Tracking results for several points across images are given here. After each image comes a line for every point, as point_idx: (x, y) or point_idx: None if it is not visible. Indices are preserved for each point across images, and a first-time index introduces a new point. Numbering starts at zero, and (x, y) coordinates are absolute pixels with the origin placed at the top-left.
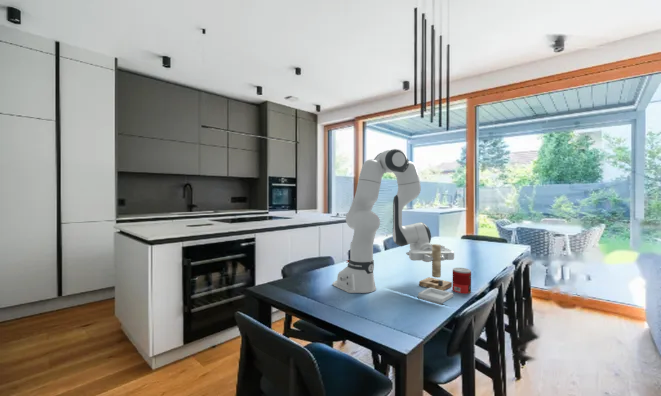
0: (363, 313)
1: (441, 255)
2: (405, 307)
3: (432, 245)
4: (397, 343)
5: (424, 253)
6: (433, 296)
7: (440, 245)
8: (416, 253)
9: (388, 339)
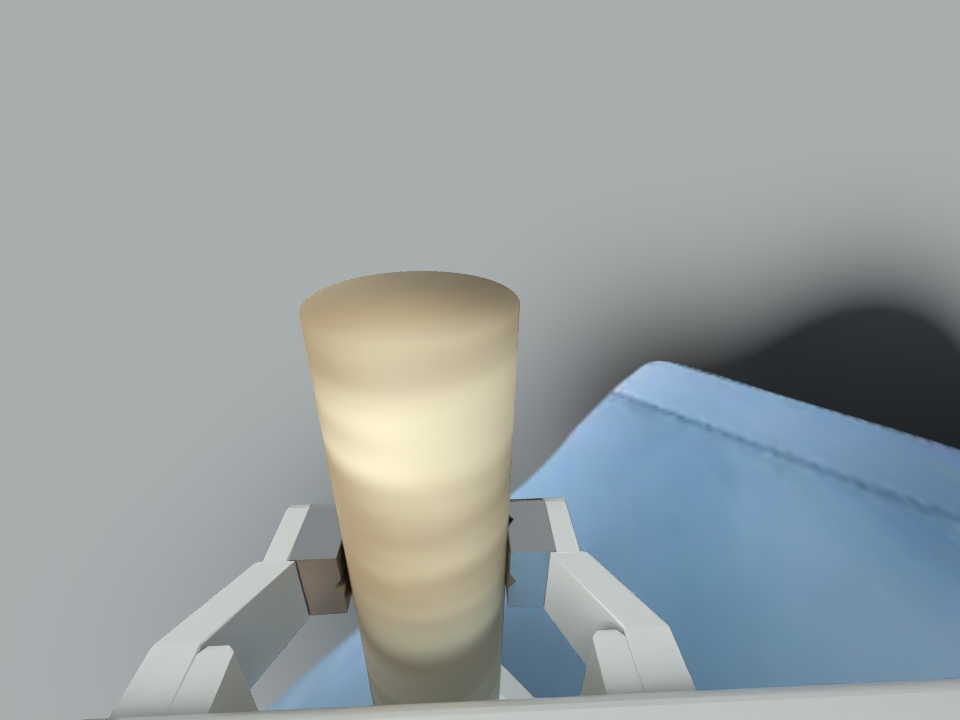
0: (912, 526)
1: (215, 659)
2: (716, 608)
3: (517, 304)
4: (678, 378)
5: (692, 686)
6: (510, 694)
7: (345, 281)
8: (943, 680)
9: (707, 388)
